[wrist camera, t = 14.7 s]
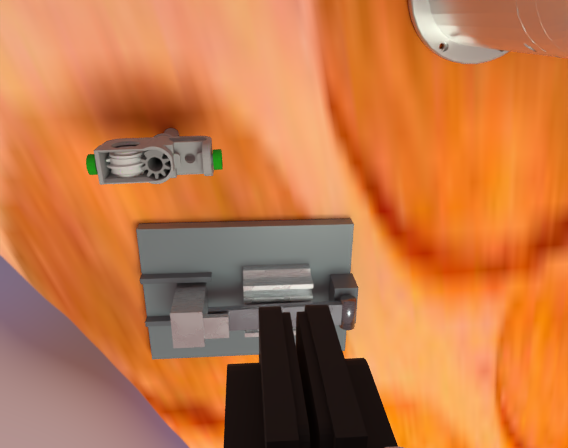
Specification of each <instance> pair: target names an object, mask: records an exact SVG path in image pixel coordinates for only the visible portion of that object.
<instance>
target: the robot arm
mask: <svg viewBox="0 0 568 448" xmlns="http://www.w3.org/2000/svg"><path fill="white" fill-rule="evenodd" d="M408 3H409V11H410V16H411V21H412V23H413V26H414V28H415V30H416V33H417V34H418V36H419V37H420V39H421V40H422V42H423V43H424V44H425V45H426V46H427V47H428V48H429V49H430V50H431V51H432V52H433V53H435V54H436V55H438V56H440V57H441V58H443V59H446V60H449V61H452V62H456V63H462V64H479V63H484V62H489V61H491V60H494V59H496V58H499V57H501V56H503V55H504V54H506V53H508V52H509V51H513V52H521V53H528V54H536V55H544V56H552V57H560V58H567V59H568V0H408ZM441 43H442V44H443V47H442V48H441V49H440V48H439V46H440V44H441ZM258 316H259V363H245V364H228V365H227V383H226V406H225V430H224V448H403V447H398V445H397V443H396V440H395V437H394V434H393V432H392V429H391V426H390V423H389V421H388V418H387V415H386V412H385V410H384V407H383V404H382V401H381V399H380V396H379V393H378V390H377V388H376V385H375V382H374V379H373V377H372V374H371V371H370V368H369V366H368V363H367V361H366V360H365V359H364V358H353V359H345V358H344V355H343V352H342V349H341V345H340V342H339V339H338V335H337V332H336V329H335V325H334V322H333V319H332V315H331V312H330V309H329V306H328V305H305V309H304V311H302V312H297V313H296V345H295V339H294V332H293V326H292V320H291V314H290V312H282V309H281V306H274V307H259V308H258Z"/></svg>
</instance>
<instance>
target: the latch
mask: <svg viewBox="0 0 568 448" xmlns="http://www.w3.org/2000/svg"><path fill="white" fill-rule="evenodd" d="M170 319H171V329H172V339H173V348H193V347H205V340H206V339H216V338H229V314H208V297H207V282H195V283H177V286H176V290H175V295H174V299H173V303H172V307H171V311H170Z"/></svg>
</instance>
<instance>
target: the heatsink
mask: <svg viewBox="0 0 568 448" xmlns="http://www.w3.org/2000/svg"><path fill="white" fill-rule="evenodd" d="M311 288H313V281H312V277H311V273H310V265H309V264H297V265H264V266H243V291H244V305H260V304H281V303H301V302H311V300H313V294H312V290H311ZM293 332H294V335H296V327H294V328H293ZM245 337H259V329H257V330H245Z"/></svg>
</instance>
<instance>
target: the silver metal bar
mask: <svg viewBox="0 0 568 448" xmlns="http://www.w3.org/2000/svg"><path fill="white" fill-rule="evenodd" d="M305 305H328V306H329V309H330V312H331V315H332V319H333V322H334V325H339V327H340V328H341V329H343V330H352V329H353V328H354V325H355V312H356V297H354V296H352V295H343V296H341V298H340V301H322V302H301V303H281V304H260V305H240V306H219V307H208V314H229V331H238V330H257V329H259V316H258V308H259V307H274V306H281V309H282V312H290V314H291V320H292V326H293V328H294V327H296V313H297V312H302V311H304V309H305Z"/></svg>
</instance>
